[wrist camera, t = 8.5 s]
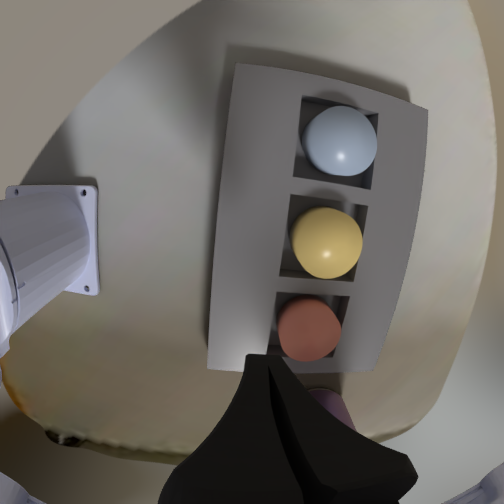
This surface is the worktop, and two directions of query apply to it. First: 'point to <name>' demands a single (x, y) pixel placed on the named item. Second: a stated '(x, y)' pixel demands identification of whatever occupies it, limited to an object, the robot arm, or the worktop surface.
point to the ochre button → (326, 241)
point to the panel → (298, 200)
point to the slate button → (340, 141)
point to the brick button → (307, 328)
